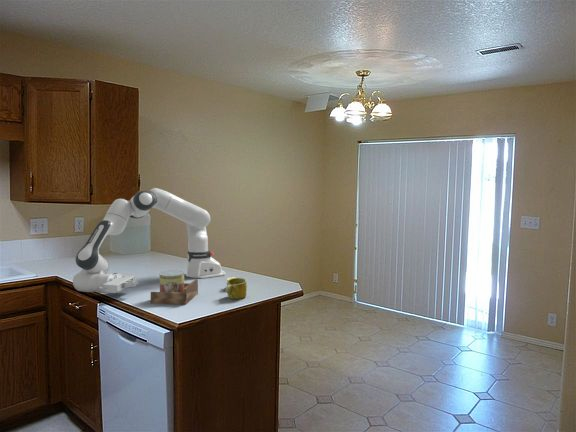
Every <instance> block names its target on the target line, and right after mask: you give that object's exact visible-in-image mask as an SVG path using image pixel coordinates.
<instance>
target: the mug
mask: <svg viewBox="0 0 576 432" xmlns="http://www.w3.org/2000/svg"><path fill="white" fill-rule="evenodd" d="M247 287H248V285H247V279H245V278H242V277H235V278H233V279H230V280H228V281H227V280H226V287H225V292H226V293H227V297H228V299H229V300H240V299H245V298H246V296H247V289H248V288H247Z"/></svg>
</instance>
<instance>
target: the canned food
mask: <svg viewBox="0 0 576 432" xmlns="http://www.w3.org/2000/svg"><path fill="white" fill-rule="evenodd" d="M158 274H159V292H177V293H183V289H184V283H185V271H183V270H165V271H162V272H160V273H158Z"/></svg>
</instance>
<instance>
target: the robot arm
mask: <svg viewBox="0 0 576 432" xmlns="http://www.w3.org/2000/svg"><path fill="white" fill-rule="evenodd" d="M152 209H156V210H159V211H161V212H162V213H165V214H167V215H169V216H171V217H173V218H175V219H178V220H180V221H182V222H184V223H185V224H186V231H187V239H188V240H187V243H188V245H187V246H188V248H187V249H188V251H187V269H186V273H185V276H186V277H187V278H188V277H189V278H194V279H196V278H197V279H207V278H214V277H221V276H226V271H225V270H222V266H221V263H220V262H219V261H218V260H216V259H215V258H213V257H212V256H214V254H215V253H214V252H213V251H210V250H209V237H208V231H207V227H208V226H209V225H210V223H211V215H210V213H209V212H208V211H207V209H204V208H202V207H200V206H198V205H196V204H194V203H191V202H189V201H187V200H185V199H183V198H181V197H179V196H177V195H175V194H173V193H171V192H169V191H166V190H164V189H161V188H157V187H153V188H152V189H150V190H141V191H138V192H136V193H135V194H134V195H133V196H132V197H131V199H130V200H126V199H125V198H117V199H115V200H114V201H113V202H112V203H111V205H110V206H109V208H108V210H107V211H106V213H105V215H104V218H102V220H101V221H99V222H98V223H97V225H96V226H95V227H94V229H93V231H92V232H91V234H90V235H89V237H88V239H87V241H86V242H85V244H84V245H83V246H82V247H81V249H79V251H78V252H77V253H76V255H75V258H74V259H75V260H74V261H75V264H76V265H77V266H78V267H79V268H81V270H80V271H79V272H78V273H76V274H75V275H73V278H72V285H73V287H74V289H75V290H76V291H78V292H84V293H85V292H86V293H100V294H101V293H103V294H104V293H108V294H111V293H112V294H115V293H119V292H120V291H123V290H124V289H126V288H131V287H133V288H135V287H136V286H138V285H139V283H138V281H136V276H135V275H133V274H121V273H120V272H114V273H107V272H108V270H109V267H110V266H109V262H108V261H107V260H106V258H104V257H103V256H102V255H101V254H100V251H99V250H100V248H101V245H102V244H103V242H104V240H105V239H106V237H107V236H108V235H109V236H117V235H120V234H121V233H123V232H124V230H125V229H126V227H127V225H128V222H129V221H130V220H129V219H130V218H132V219H141V218H144V217H145V216H146V215H148V213H149V212H150V211H151V210H152Z"/></svg>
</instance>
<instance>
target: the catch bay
mask: <svg viewBox="0 0 576 432" xmlns="http://www.w3.org/2000/svg"><path fill="white" fill-rule="evenodd" d="M198 279H199V278H197V279H196V278H194V280H192V281H191V282H189V283H186V282H184V289H183V293H177V292H160V291H150V304H155V305H156V304H157V305H159V304H160V305H161V304H163V305H187V304H188V303H190V301H192V300H193V299H194V298H195V297H196V296H197V295H198V294H199V280H198Z"/></svg>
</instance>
